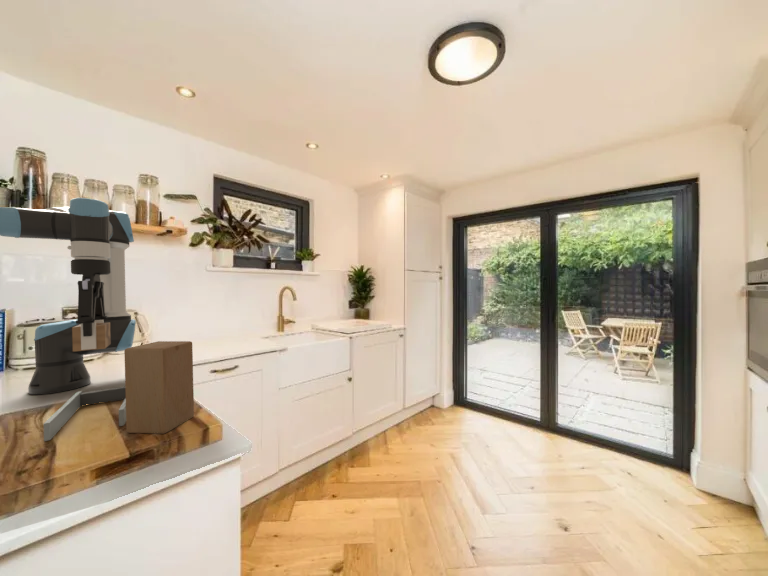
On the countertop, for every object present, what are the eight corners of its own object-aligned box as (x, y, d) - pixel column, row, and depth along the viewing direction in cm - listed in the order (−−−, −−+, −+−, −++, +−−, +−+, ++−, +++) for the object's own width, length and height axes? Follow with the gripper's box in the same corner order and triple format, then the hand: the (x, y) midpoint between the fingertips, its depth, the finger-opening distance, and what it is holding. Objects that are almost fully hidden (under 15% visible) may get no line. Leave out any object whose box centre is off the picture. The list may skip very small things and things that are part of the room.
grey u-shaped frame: (77, 405, 92) (77, 391, 92) (137, 395, 100) (137, 382, 100) (43, 441, 70) (43, 423, 70) (124, 425, 78) (123, 409, 78)
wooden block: (194, 416, 82) (193, 341, 82) (164, 434, 72) (162, 348, 72) (160, 415, 83) (158, 341, 83) (125, 433, 73) (123, 348, 73)
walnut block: (80, 346, 83) (80, 324, 83) (110, 344, 86) (110, 322, 86) (72, 351, 76) (72, 327, 76) (105, 348, 80) (104, 325, 80)
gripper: (82, 262, 88) (84, 342, 88) (56, 255, 70) (59, 355, 71) (117, 262, 92) (119, 339, 92) (101, 256, 74) (103, 351, 75)
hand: (93, 346), depth 81 cm, fingers closed on walnut block, 8 cm apart
